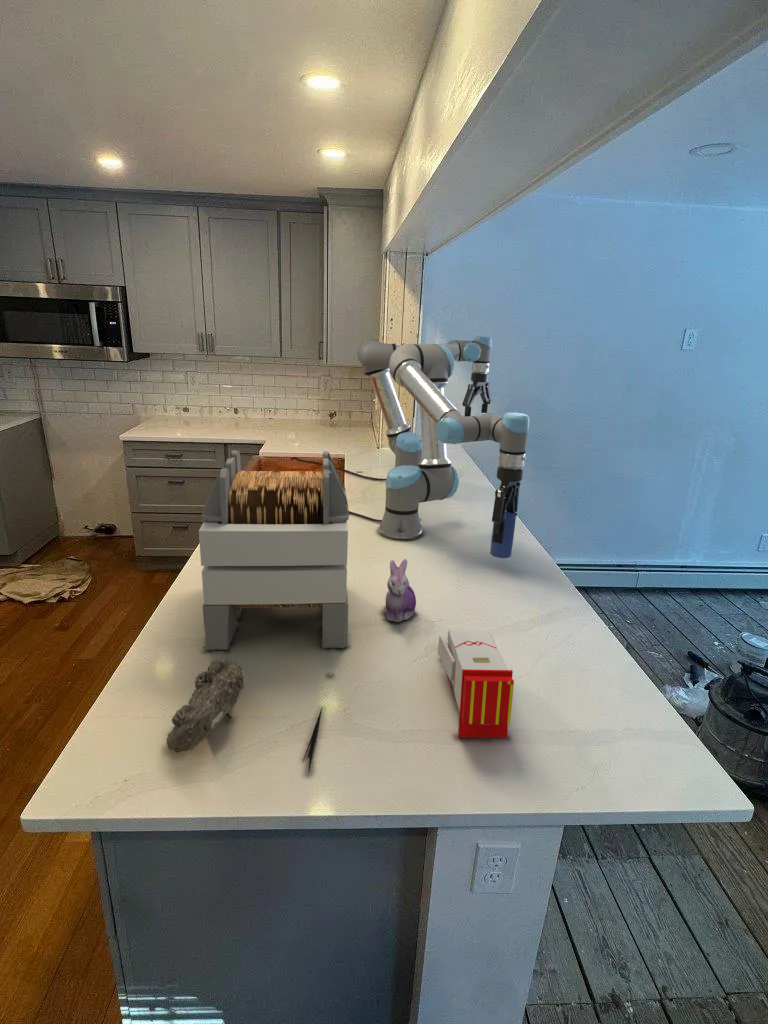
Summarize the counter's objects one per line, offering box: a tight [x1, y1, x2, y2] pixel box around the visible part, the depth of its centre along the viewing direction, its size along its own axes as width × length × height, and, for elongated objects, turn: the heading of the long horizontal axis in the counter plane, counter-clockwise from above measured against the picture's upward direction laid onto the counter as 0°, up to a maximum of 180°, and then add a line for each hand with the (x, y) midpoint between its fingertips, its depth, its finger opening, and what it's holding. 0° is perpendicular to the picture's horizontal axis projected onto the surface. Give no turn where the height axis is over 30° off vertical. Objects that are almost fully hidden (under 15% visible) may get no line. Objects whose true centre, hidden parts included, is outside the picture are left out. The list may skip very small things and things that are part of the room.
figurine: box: [384, 558, 417, 623], centre depth 145 cm, size 9×10×15 cm
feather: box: [301, 673, 332, 771], centre depth 108 cm, size 2×28×2 cm
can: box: [489, 512, 517, 559], centre depth 174 cm, size 6×6×13 cm
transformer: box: [198, 449, 350, 651], centre depth 138 cm, size 34×33×41 cm
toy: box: [437, 628, 515, 738], centre depth 117 cm, size 12×13×30 cm
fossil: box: [166, 658, 245, 754], centre depth 106 cm, size 22×10×15 cm
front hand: (502, 538), depth 175 cm, fingers closed on can, 6 cm apart
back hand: (475, 419), depth 261 cm, fingers open, 13 cm apart
